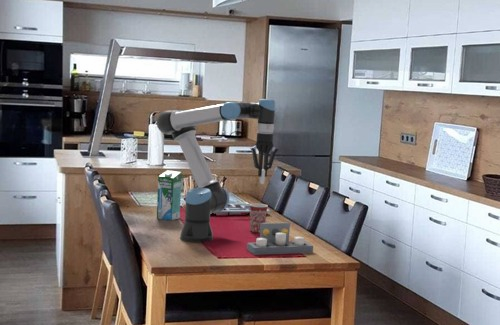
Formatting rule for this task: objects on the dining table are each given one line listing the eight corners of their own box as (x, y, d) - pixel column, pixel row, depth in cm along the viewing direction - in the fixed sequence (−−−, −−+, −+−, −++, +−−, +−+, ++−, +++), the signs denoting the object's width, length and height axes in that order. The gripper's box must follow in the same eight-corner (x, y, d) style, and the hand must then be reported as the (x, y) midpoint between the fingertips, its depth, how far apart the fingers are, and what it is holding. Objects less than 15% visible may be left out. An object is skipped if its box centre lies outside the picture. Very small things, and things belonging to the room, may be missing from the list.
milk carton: (156, 218, 351) (158, 171, 348) (164, 215, 360) (166, 169, 357) (171, 220, 348) (173, 173, 345) (179, 218, 356) (181, 171, 353)
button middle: (277, 246, 293) (278, 235, 292) (273, 243, 297) (274, 232, 296) (287, 245, 294) (287, 234, 294) (283, 243, 299) (283, 232, 298)
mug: (268, 233, 332) (269, 207, 331) (250, 233, 330) (252, 206, 329) (261, 227, 345) (263, 202, 343) (244, 227, 342) (246, 201, 341)
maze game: (259, 209, 395) (259, 203, 395) (269, 216, 377) (270, 210, 376) (201, 209, 385) (201, 203, 385) (209, 216, 367) (209, 210, 366)
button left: (258, 251, 290) (258, 240, 289) (254, 249, 294) (254, 237, 294) (267, 251, 291) (268, 240, 291) (264, 248, 296) (264, 237, 295)
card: (259, 249, 300) (261, 223, 298) (259, 249, 301) (260, 223, 299) (288, 248, 304) (290, 223, 303) (287, 248, 305) (289, 222, 304)
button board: (253, 257, 287) (254, 247, 287) (246, 251, 295) (247, 242, 295) (312, 254, 297) (313, 245, 296) (304, 249, 305) (304, 240, 305)
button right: (295, 250, 296) (296, 239, 296) (291, 247, 300) (292, 236, 300) (305, 249, 298) (306, 238, 297) (301, 247, 302) (301, 236, 301)
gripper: (254, 133, 301) (250, 184, 304) (281, 134, 305) (277, 185, 308) (249, 131, 308) (246, 182, 311) (275, 132, 312) (272, 182, 315)
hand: (261, 183), depth 309 cm, fingers closed
